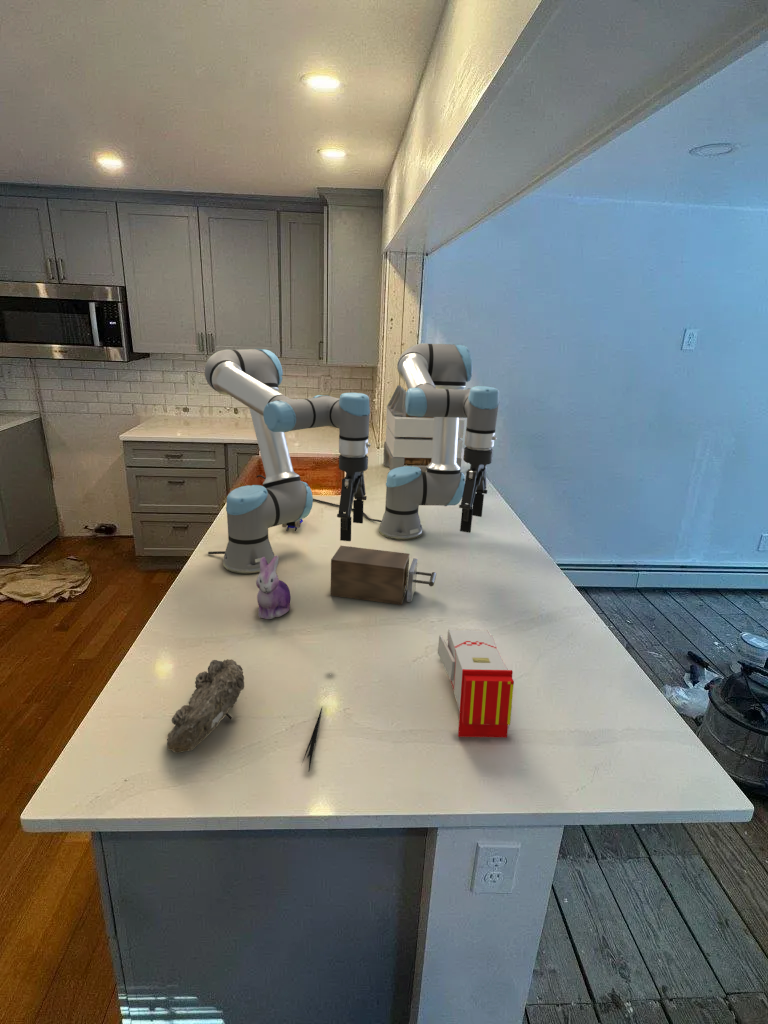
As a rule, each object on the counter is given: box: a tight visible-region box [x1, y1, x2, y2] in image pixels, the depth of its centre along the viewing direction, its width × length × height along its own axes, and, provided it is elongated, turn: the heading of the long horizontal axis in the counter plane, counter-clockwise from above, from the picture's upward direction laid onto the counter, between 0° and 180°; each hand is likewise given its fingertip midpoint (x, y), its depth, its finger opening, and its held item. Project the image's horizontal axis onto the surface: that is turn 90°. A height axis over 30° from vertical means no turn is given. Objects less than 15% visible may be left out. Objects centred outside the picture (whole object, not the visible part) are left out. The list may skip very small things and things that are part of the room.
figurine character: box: [281, 519, 304, 532], centre depth 201 cm, size 7×8×15 cm
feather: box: [301, 673, 332, 771], centre depth 108 cm, size 2×28×2 cm
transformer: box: [383, 384, 465, 472], centre depth 268 cm, size 34×33×41 cm
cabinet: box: [330, 545, 410, 606], centre depth 156 cm, size 20×10×11 cm, turn 79°
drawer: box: [403, 557, 437, 603], centre depth 156 cm, size 24×9×9 cm, turn 79°
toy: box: [437, 628, 515, 738], centre depth 117 cm, size 12×13×30 cm
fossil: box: [166, 658, 245, 754], centre depth 106 cm, size 22×10×15 cm
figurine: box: [255, 555, 292, 620], centre depth 143 cm, size 9×10×15 cm
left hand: (352, 531), depth 153 cm, fingers open, 13 cm apart
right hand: (471, 523), depth 155 cm, fingers open, 13 cm apart
